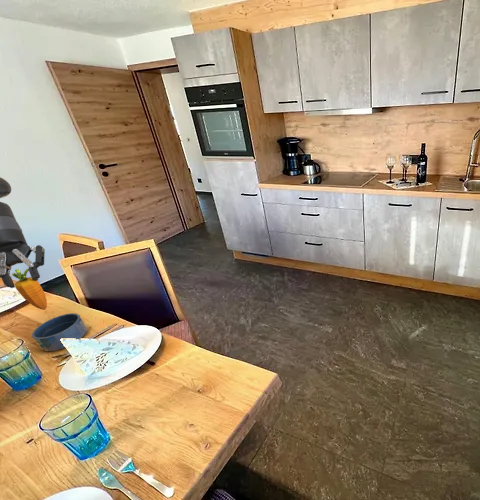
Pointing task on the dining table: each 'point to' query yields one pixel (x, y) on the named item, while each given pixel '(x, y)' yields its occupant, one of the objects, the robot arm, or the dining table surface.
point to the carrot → (30, 290)
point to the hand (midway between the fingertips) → (24, 283)
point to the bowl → (59, 331)
